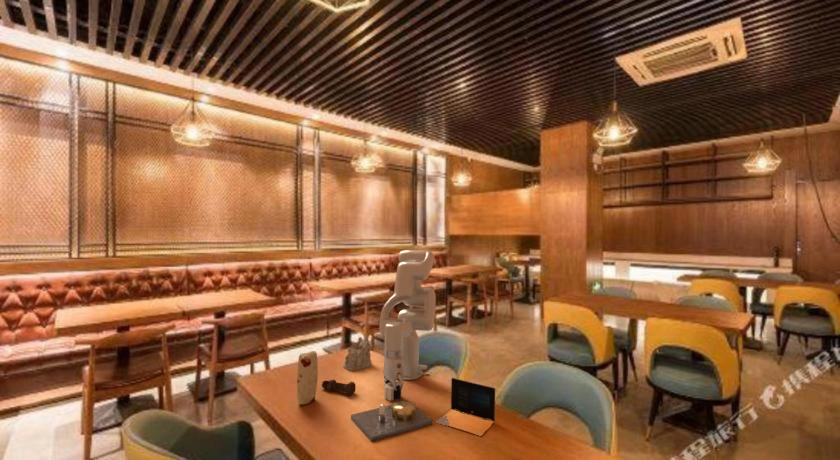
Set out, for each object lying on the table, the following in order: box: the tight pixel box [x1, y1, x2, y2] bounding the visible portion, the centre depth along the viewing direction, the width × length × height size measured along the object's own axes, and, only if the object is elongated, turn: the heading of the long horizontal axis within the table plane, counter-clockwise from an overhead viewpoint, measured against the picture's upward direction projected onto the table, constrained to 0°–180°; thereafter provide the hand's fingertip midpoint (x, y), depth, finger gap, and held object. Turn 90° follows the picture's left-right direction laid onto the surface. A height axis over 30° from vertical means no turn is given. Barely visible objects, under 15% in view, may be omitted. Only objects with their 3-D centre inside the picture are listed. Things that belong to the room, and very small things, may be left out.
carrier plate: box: [350, 400, 433, 443], centre depth 143 cm, size 24×18×7 cm
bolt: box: [321, 378, 356, 397], centre depth 169 cm, size 6×5×15 cm
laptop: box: [435, 377, 496, 437], centre depth 144 cm, size 18×12×13 cm
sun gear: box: [391, 400, 417, 420], centre depth 146 cm, size 9×9×3 cm
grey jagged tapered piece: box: [342, 335, 372, 371], centre depth 203 cm, size 16×16×15 cm
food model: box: [296, 350, 319, 405], centre depth 158 cm, size 10×7×20 cm
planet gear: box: [383, 382, 399, 402], centre depth 164 cm, size 7×7×5 cm
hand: (392, 395), depth 164 cm, fingers closed on planet gear, 7 cm apart
